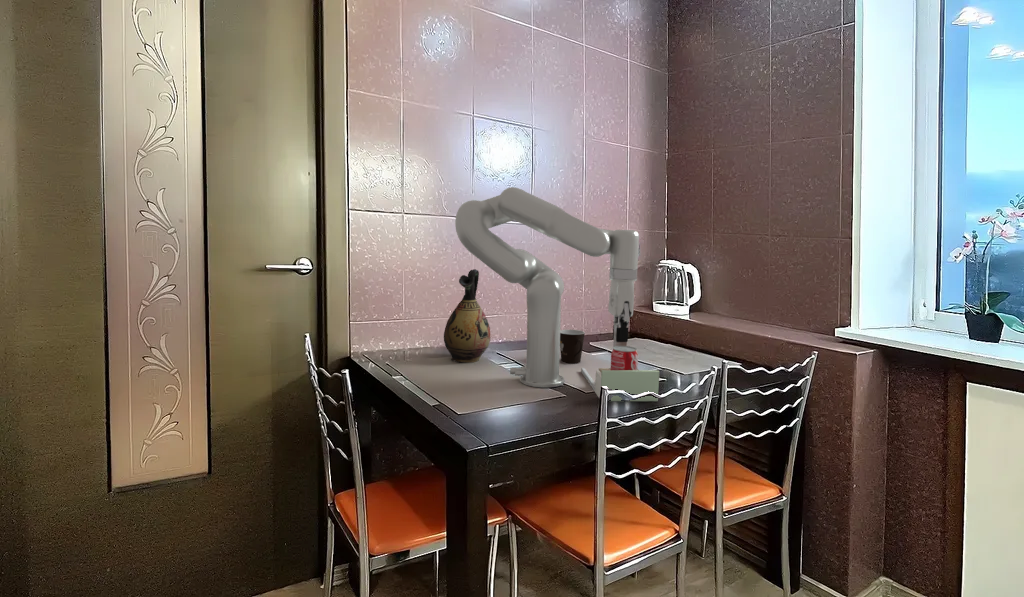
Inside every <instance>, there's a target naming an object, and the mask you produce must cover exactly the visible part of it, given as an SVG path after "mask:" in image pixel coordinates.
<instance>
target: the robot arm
mask: <svg viewBox="0 0 1024 597" xmlns="http://www.w3.org/2000/svg"><path fill="white" fill-rule="evenodd" d="M512 221H515V222H518V223H520V224H522V225H524V226H526V227H528V228H531V229H533V230H535V231H537V232H539V234H542V235H544V236H546V237H548V238H551V239H552V240H553V239H554V240H556V241H558V242H561V243H562V244H564V245H566V246H568V247H571V248H573V249H574V250H577V251H578V252H581V253H583V254H584V255H588V256H590V257H593V258H595V257H596V258H599V257H603V255H610V258H609V275H608V276H609V280H610V287H609V295H608V297H609V298H608V299H609V300H608V308H607V309H608V310H607V311H608V313H609V314H610V315H612V316H613V323H612V324H613V326H612V339H613V340H614V323H618V327H617V328H616V341H617V342H627V343H628V342H629V326H630V324H629V322H630V318H631V317H633V315H634V307H635V295H634V294H635V282H637V281H638V269H639V266H638V265H639V263H638V262H639V245H640V244H639V243H640V234H639V232H638V231H637V230H634V229H616V230H611V229H603V228H598V227H596V226H594V225H592V224H590V223H587V222H586V221H584V220H581V219H580V218H578V217H576V216H573V215H571V214H569V213H568V212H566V211H565V210H564V209H562V208H561V207H559V206H557V205H556V204H553V203H550V202H549V201H546V200H544V199H542V198H540V197H538V196H535V195H534V194H532V193H529V192H527V191H526V190H523V189H521V188H518V187H515V186H512V187H511V186H510V187H506V188H505V189H504V190H503V191H502V192H501V193H500V194H499V195H496V196H493V197H490V198H487V199H484V200H474V199H472V200H468V201H466V202H464V203H462V204H461V205H460V206H459V208H458V209H457V211H456V216H455V220H454V222H455V232H456V235H457V238H458V239H459V241H460V244H462V246H463V247H464V248H465V249H466V250H467V251H468V252H469V253H470V254H472V256H474V257H475V258H477V259H478V260H479V261H480V262H482V263H483V264H484V265H485V266H487V267H488V268H489V269H491V270H492V271H493V272H494V273H496V274H498V276H500V277H501V278H502V279H503V280H505V281H506V282H508V283H511V284H519V285H520V286H521V287H522V288H524V289H525V290H526V307H527V308H526V311H527V312H526V313H527V314H526V315H527V316H526V319H527V320H526V356H525V357H526V363H525V364H524V366H520V367H509V368H510V370H509V372H510V373H509V374H510V375H514V376H518V377H520V382H521V383H522V384H524V385H526V386H529V387H533V388H544V389H545V388H556V387H560V386H562V385H563V384H564V383H565V378H564V377H563V376H562V375H560V357H561V352H560V330H561V323H562V322H561V321H562V320H561V318H562V317H561V316H562V315H561V312H562V306H561V305H562V295H563V293H564V290H565V283H564V280H563V278H562V276H561V275H560V273H558V272H557V271H555V270H554V269H552V268H551V267H550V266H549V265H547V264H546V263H544V262H543V261H542V260H540V259H539V258H538V257H536V256H535V255H533V254H532V253H530V252H529V251H527V250H524V249H520V248H519V249H518V248H514V247H513V246H511V245H510V244H508V243H507V241H505V240H504V239H502V237H499V236H498V235H496V234H495V233H493V231H491V230H490V229H491V228H494V227H498V226H501V225H504V224H507V223H509V222H512Z"/></svg>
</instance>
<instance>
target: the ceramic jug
mask: <svg viewBox="0 0 1024 597" xmlns="http://www.w3.org/2000/svg"><path fill="white" fill-rule="evenodd" d="M479 277H480V271H479V270H478V269H470V270H469V271H468V273H467V275H465V274H463V275H461V276H460V277H459V280H458V283H459V284H460V286H461V287H463V288H464V295H463V297H462V299H461V300H460V301H459V303H458V304H457V305H456V307H455V308H454V310H453V311H452V312H451V314H450V316H449V317H448V319H447V321H446V324H445V328H444V331H443V342H444V346H445V348H446V350H447V351H448V353H449V354H450V356H451V361H453V362H455V363H459V364H460V363H475V362H476V363H477V362H478V361H480V358H481V357H482V356H483V354H484V353H485V352H486V351H487V349H488V348H489V345H490V343H491V336H492V334H491V327H490V323H489V320H488V318H487V317H486V314H485V313H484V311H483V308H482V307H481V306H480V304H479V302H478V301H477V297H476V296H477V291H478V285H479V279H480V278H479Z"/></svg>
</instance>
